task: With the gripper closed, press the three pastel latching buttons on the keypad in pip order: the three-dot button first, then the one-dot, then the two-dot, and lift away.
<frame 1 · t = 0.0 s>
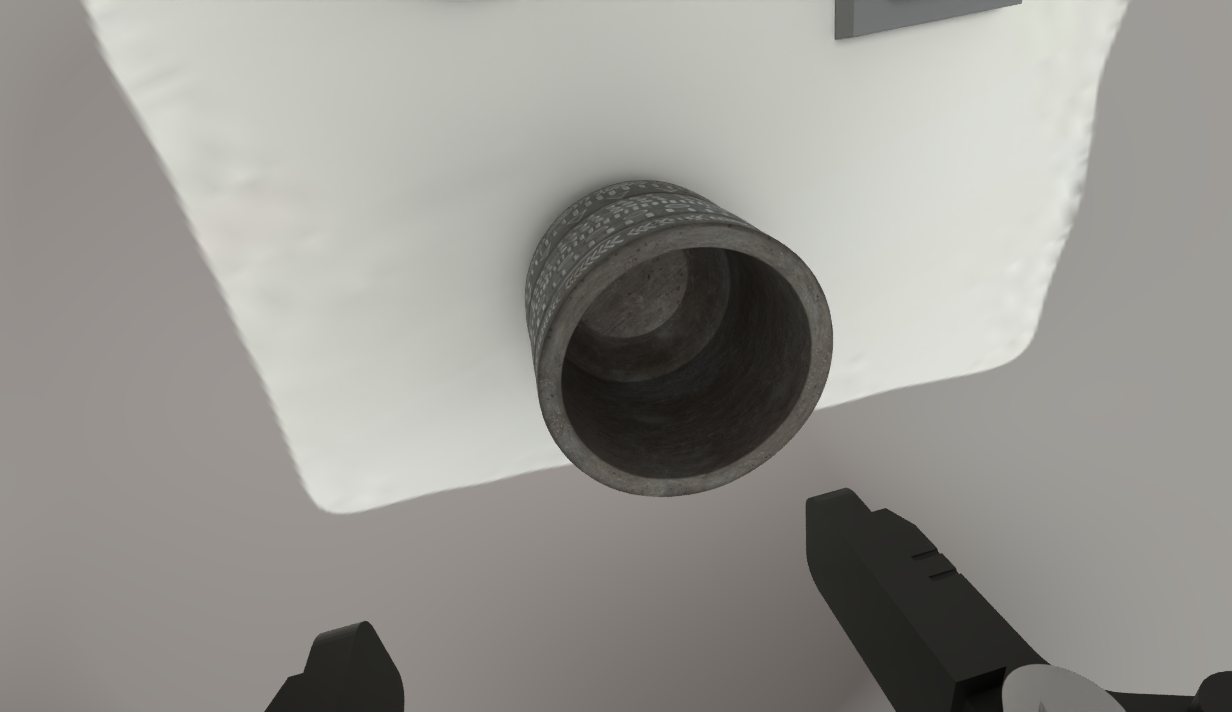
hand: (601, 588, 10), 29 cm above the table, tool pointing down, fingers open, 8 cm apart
planter: (624, 275, 39), on the table
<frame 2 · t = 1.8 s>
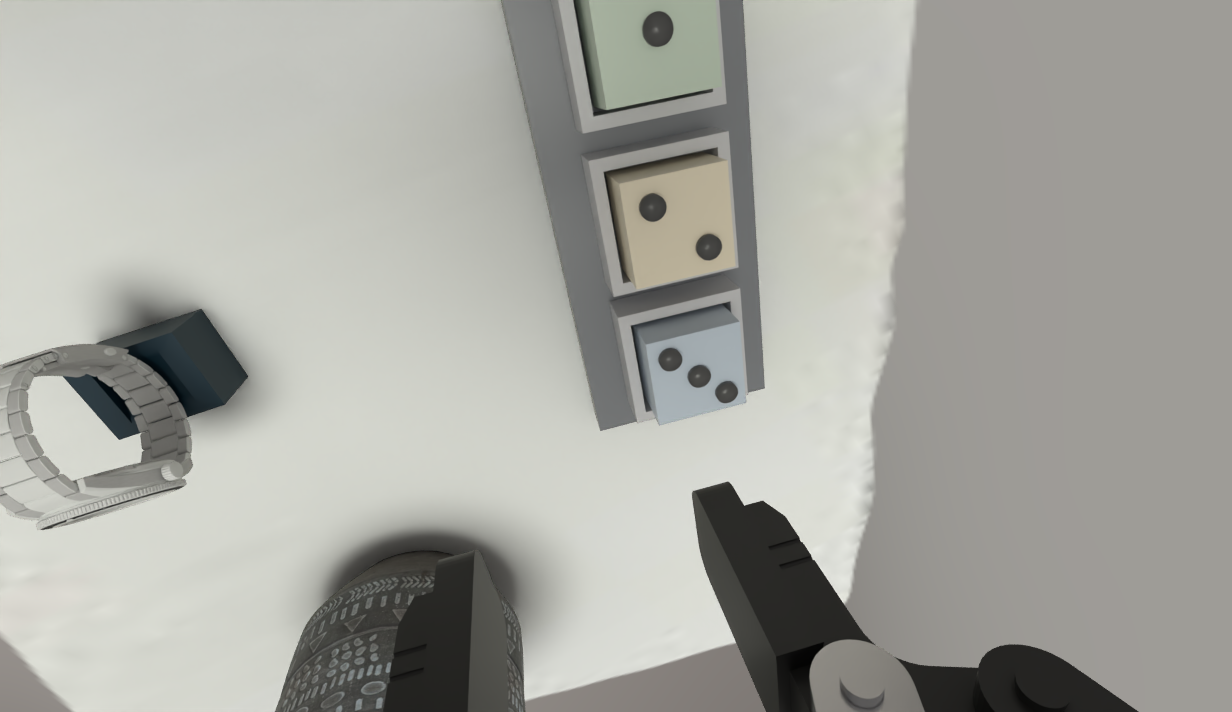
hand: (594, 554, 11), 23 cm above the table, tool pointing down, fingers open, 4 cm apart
watch: (179, 359, 31), on the table
planter: (422, 597, 41), on the table
button three: (688, 361, 31), point 5 cm above the table, slide at 0.0 cm
keypad: (646, 200, 32), on the table
button one: (647, 32, 24), point 5 cm above the table, slide at 0.0 cm
button two: (670, 219, 27), point 5 cm above the table, slide at 0.0 cm
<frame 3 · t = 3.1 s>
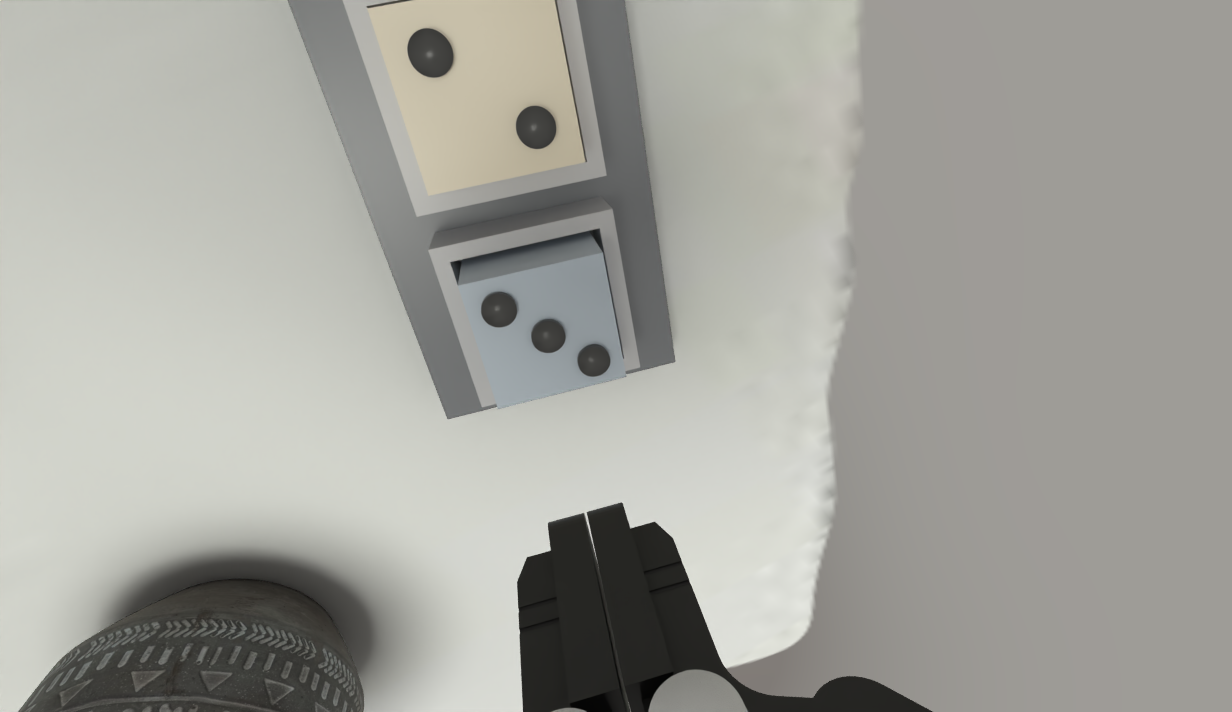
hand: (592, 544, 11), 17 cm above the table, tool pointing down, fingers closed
planter: (245, 637, 32), on the table
button three: (544, 317, 21), point 5 cm above the table, slide at 0.0 cm
keypad: (487, 88, 22), on the table
button two: (486, 90, 18), point 5 cm above the table, slide at 0.0 cm
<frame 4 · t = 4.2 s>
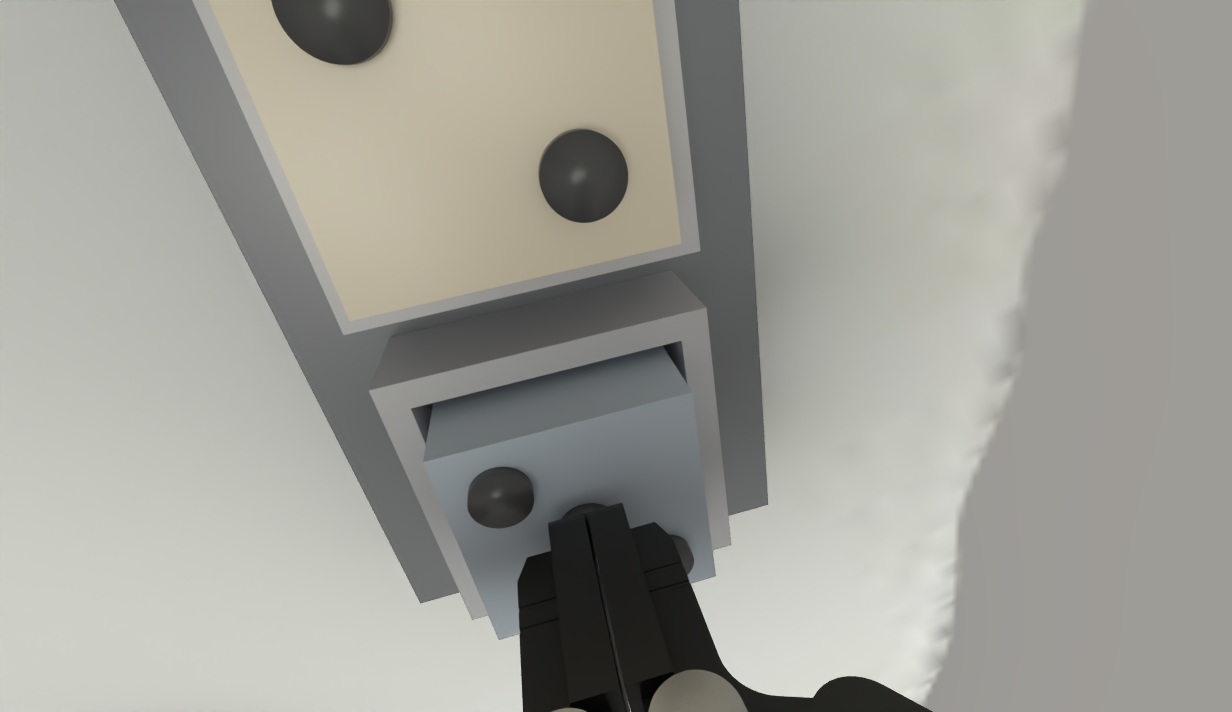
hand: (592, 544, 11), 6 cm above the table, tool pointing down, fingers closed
button three: (576, 476, 13), point 4 cm above the table, slide at 0.5 cm, touching gripper
keypad: (479, 89, 13), on the table
button two: (474, 95, 9), point 5 cm above the table, slide at 0.0 cm
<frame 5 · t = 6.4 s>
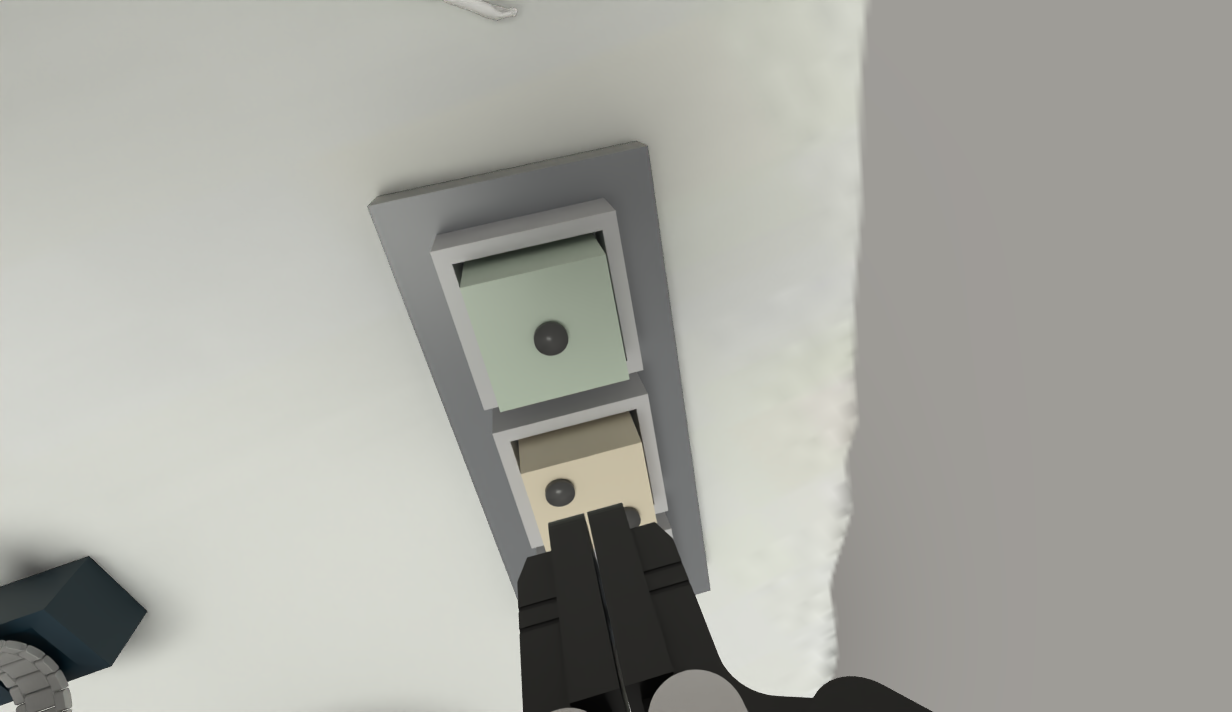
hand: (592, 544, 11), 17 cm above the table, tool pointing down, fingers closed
watch: (70, 601, 29), on the table
keypad: (574, 421, 29), on the table
button one: (546, 320, 21), point 5 cm above the table, slide at 0.0 cm
button two: (588, 480, 25), point 5 cm above the table, slide at 0.0 cm
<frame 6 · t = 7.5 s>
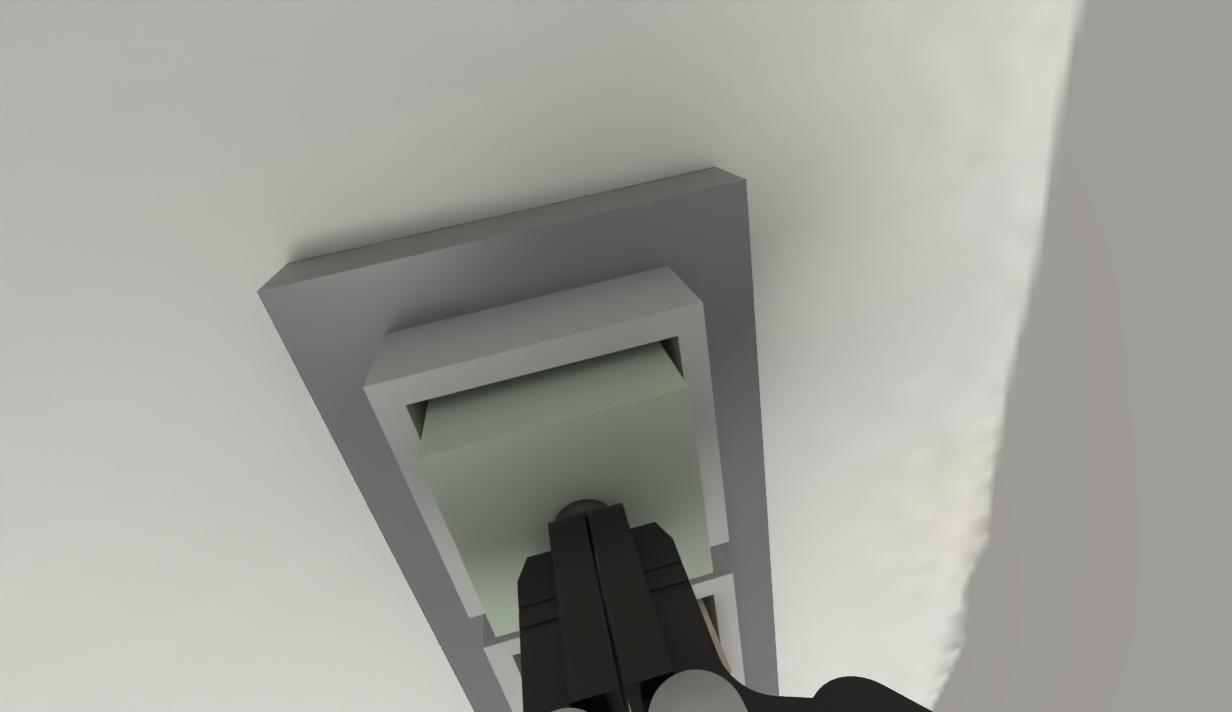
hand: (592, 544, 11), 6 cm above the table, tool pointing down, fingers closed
keypad: (603, 567, 20), on the table
button one: (573, 473, 13), point 4 cm above the table, slide at 0.5 cm, touching gripper
button two: (634, 699, 16), point 5 cm above the table, slide at 0.0 cm
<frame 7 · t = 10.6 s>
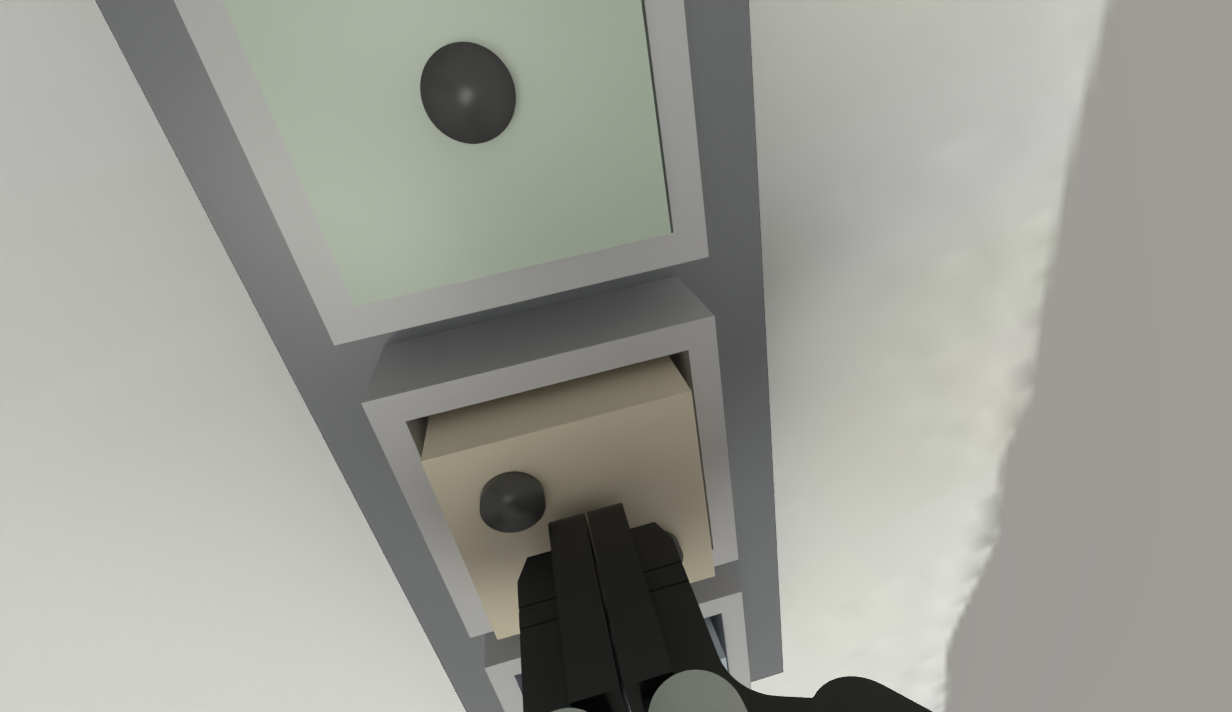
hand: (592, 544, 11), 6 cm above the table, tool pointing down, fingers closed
button three: (631, 685, 16), point 4 cm above the table, slide at 1.0 cm, touching keypad
keypad: (557, 391, 16), on the table
button one: (473, 91, 9), point 4 cm above the table, slide at 1.0 cm, touching keypad
button two: (575, 476, 13), point 4 cm above the table, slide at 1.0 cm, touching gripper, keypad
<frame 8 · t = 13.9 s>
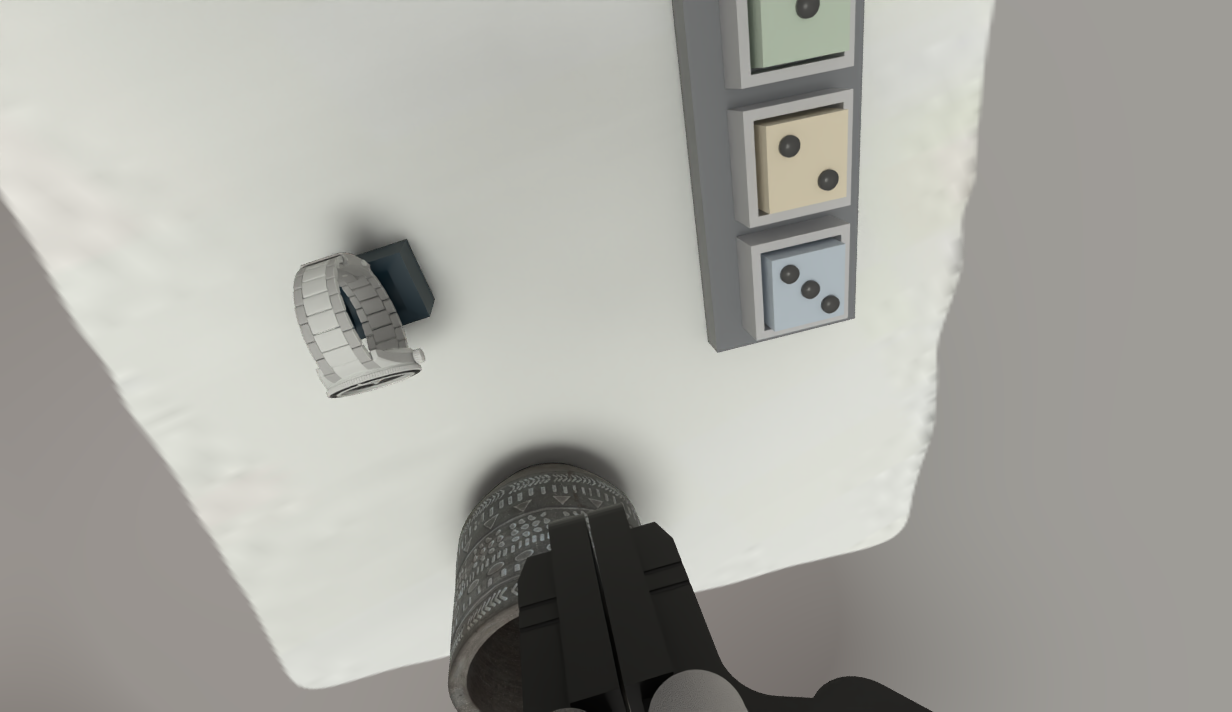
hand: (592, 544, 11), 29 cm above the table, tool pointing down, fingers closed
watch: (382, 283, 37), on the table
planter: (547, 507, 48), on the table
button three: (797, 281, 38), point 4 cm above the table, slide at 1.0 cm, touching keypad
keypad: (767, 152, 38), on the table
button one: (791, 9, 31), point 4 cm above the table, slide at 1.0 cm, touching keypad
button two: (795, 159, 34), point 4 cm above the table, slide at 1.0 cm, touching keypad
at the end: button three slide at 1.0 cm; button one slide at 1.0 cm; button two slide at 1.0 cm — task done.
